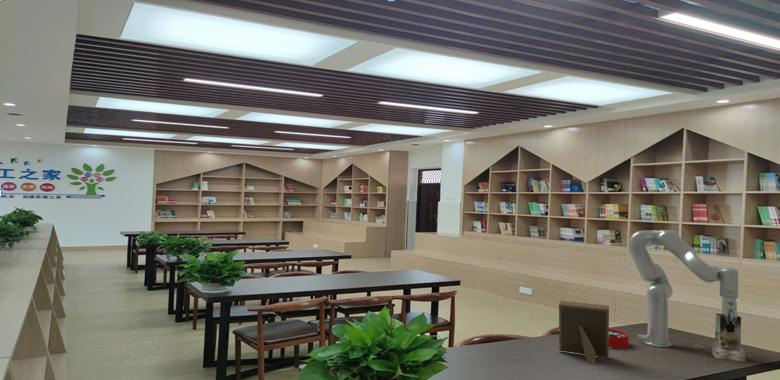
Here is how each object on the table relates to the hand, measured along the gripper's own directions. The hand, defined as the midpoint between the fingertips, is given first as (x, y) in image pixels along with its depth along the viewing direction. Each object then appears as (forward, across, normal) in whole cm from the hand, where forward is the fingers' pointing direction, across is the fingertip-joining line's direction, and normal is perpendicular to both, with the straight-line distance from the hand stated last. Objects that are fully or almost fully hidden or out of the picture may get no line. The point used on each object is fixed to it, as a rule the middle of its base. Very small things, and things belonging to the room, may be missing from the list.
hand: (728, 330), depth 254 cm
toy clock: (+13, -2, +54) cm, 56 cm away
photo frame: (+13, -36, +64) cm, 75 cm away
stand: (+13, 0, 0) cm, 13 cm away
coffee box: (+9, 0, 0) cm, 9 cm away
